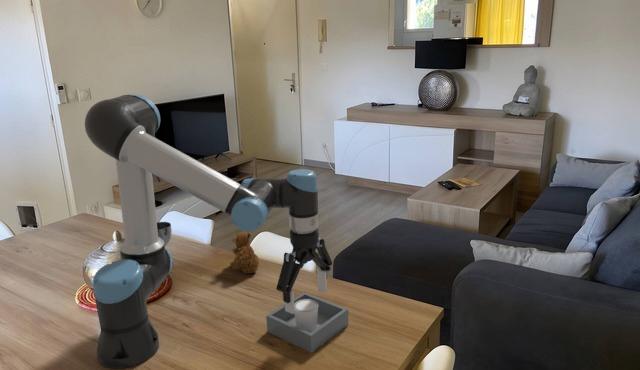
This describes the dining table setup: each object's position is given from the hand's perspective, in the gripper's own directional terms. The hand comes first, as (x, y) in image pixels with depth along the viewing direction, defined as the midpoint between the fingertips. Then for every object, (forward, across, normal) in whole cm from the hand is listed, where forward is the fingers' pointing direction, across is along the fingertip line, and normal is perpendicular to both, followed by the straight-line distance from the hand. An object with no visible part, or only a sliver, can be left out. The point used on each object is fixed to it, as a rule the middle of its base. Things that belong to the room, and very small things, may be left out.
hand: (306, 301), depth 134 cm
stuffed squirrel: (+9, +15, +41) cm, 45 cm away
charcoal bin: (+8, 0, 0) cm, 8 cm away
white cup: (+8, 0, 0) cm, 8 cm away
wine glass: (+9, 0, +69) cm, 69 cm away
